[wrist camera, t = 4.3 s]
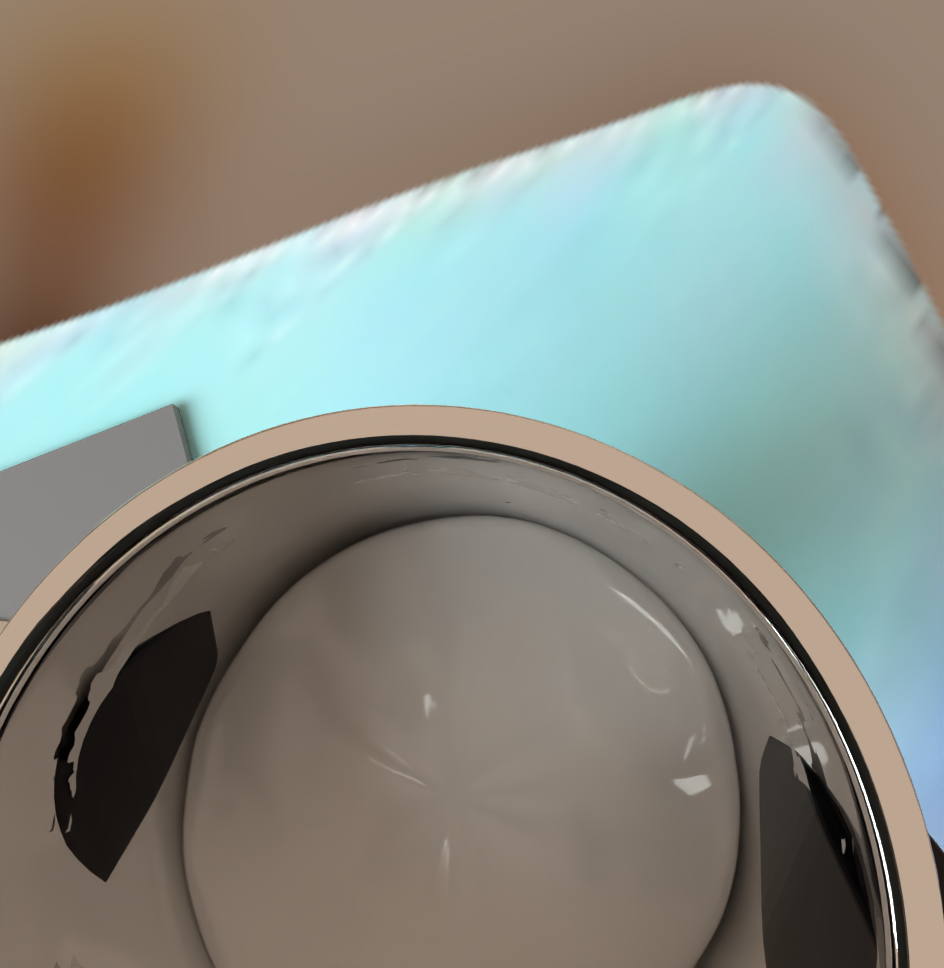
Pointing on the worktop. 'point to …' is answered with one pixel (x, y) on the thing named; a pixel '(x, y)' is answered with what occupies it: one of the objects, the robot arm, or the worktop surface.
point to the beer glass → (444, 715)
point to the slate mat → (78, 495)
